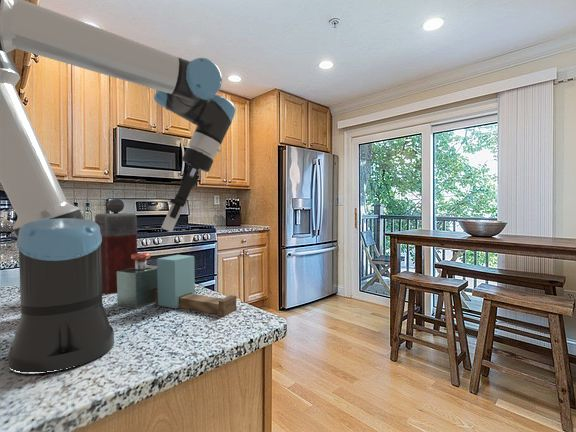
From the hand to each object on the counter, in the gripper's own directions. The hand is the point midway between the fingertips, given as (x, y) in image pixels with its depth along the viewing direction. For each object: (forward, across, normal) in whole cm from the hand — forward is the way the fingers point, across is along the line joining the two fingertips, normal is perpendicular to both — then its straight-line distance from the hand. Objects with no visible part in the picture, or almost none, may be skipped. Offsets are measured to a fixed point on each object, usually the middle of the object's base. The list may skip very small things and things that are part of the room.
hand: (167, 226), depth 83 cm
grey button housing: (+22, +1, -2) cm, 22 cm away
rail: (+16, -7, -14) cm, 22 cm away
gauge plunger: (+16, +2, +1) cm, 16 cm away
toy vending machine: (+27, +20, +6) cm, 34 cm away
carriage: (+18, -3, -10) cm, 21 cm away
